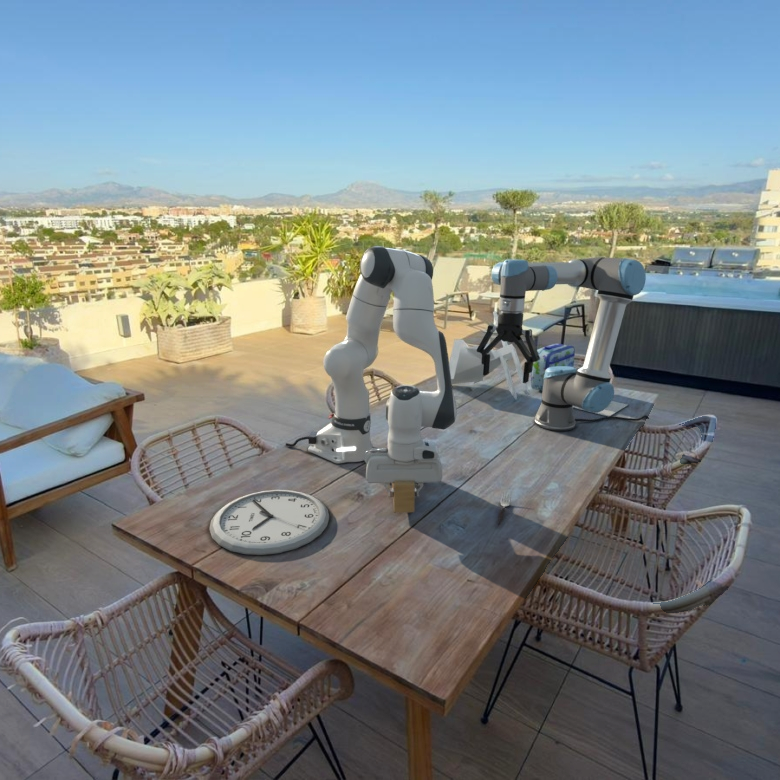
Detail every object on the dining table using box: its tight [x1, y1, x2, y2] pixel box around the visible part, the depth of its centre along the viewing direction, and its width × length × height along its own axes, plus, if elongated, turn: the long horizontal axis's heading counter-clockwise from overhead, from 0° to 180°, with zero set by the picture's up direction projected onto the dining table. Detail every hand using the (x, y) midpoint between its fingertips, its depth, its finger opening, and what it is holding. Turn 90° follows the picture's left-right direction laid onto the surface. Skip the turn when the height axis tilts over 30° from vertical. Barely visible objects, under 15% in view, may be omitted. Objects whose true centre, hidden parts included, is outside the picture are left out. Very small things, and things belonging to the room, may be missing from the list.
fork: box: [497, 491, 512, 526], centre depth 140 cm, size 3×16×2 cm, turn 160°
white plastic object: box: [449, 310, 531, 400], centre depth 245 cm, size 37×45×31 cm
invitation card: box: [573, 400, 629, 417], centre depth 226 cm, size 21×1×15 cm
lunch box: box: [530, 343, 576, 391], centre depth 249 cm, size 26×11×21 cm, turn 134°
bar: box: [391, 481, 416, 513], centre depth 148 cm, size 26×5×8 cm, turn 2°
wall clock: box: [209, 489, 330, 556], centre depth 135 cm, size 30×2×30 cm
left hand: (403, 495), depth 140 cm, fingers closed on bar, 5 cm apart
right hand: (505, 378), depth 166 cm, fingers open, 13 cm apart
